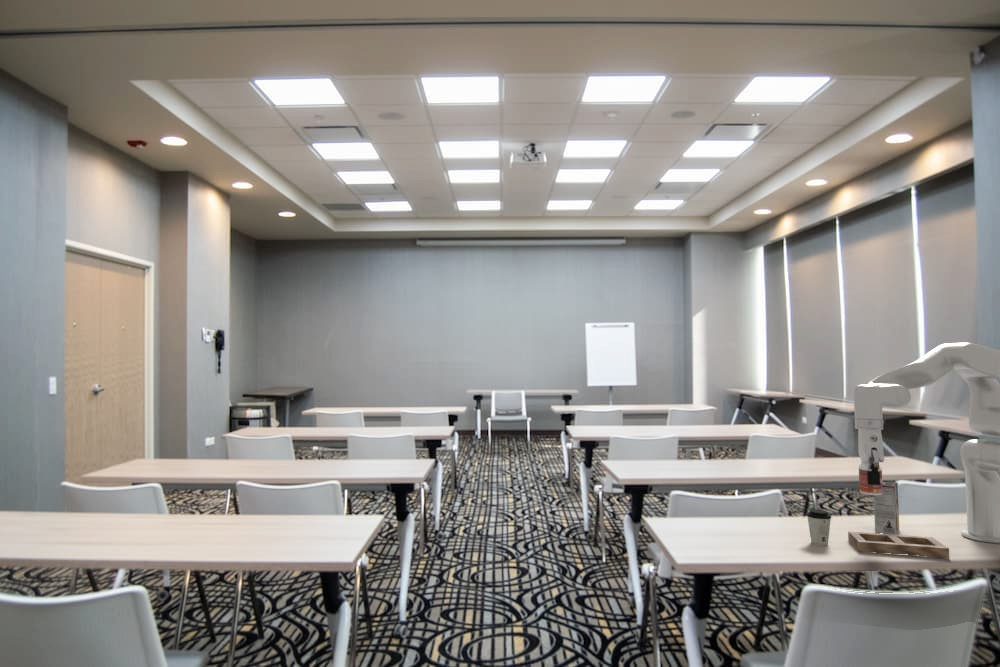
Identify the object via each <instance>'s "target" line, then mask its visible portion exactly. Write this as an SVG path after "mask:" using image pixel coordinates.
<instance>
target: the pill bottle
mask: <svg viewBox="0 0 1000 667" xmlns="http://www.w3.org/2000/svg"><path fill="white" fill-rule="evenodd" d="M860 461H861V462H862V464H859V466H858V485H859V490H858V491H859V493H861V494H862V495H866V496H868V495H869V496H874V495H882V493H883V490H882V481H883V468H882V467H881V465H879V468H880V485H870V484H868V474H867V471H869V469H868V462H867V461H865V460H864V459H863V458H862V457H861V458H860ZM870 461H873V460H872V459H870ZM861 462H860V463H861Z"/></svg>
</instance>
